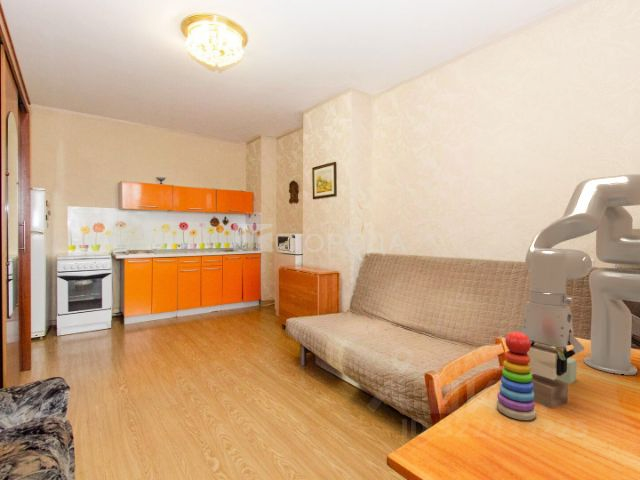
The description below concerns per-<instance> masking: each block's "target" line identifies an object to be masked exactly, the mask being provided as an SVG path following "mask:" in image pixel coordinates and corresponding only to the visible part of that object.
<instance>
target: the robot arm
mask: <svg viewBox="0 0 640 480" xmlns="http://www.w3.org/2000/svg"><path fill="white" fill-rule="evenodd" d="M631 206H640V174H639V173H638V174H619V175H612V176H611V175H610V176H604V177H603V176H601V177H593V178H588V179H585V180H583V181H581V182H579V183H578V184H577V185H576V187H575V188H574V191H573V192H572V195H571V197H570V199H569V201H568V204H567V206H566V208H565V211H564V213H563V215H562V217H560V218H559V219H556V220H555V221H553V222H551V223H550V224H549V225H547V226H546V227H544V228H542V230H540V231H539V232H537V233H536V235H535V236H534V237H533V239H532V241H531V243H530V245H529V247H528V250H527V252H526V256H525V261H524V262H525V263H524V264H525V268H526V269H527V270H528V271H529V296H528V297H529V299H528V301H526V303H525V307H524V310H523V316H522V322H521V323H522V324H521V326H519V327H518V328H516V329H514V330H513V331H512V332H521V333H523V334H525V335H526V336H527V337H528V338H529V340H530V342H531V346H533V345H535V344H541V345H545V346H548V347H552V348H556V350H557V353H558V355H559V359H557V375H558V376H561V375H563V374H564V373H566V372H567V359H568V358H571V357H573V356H575V355H576V354H579V353H581V352H583V351H584V350H585V347H584V345H582V343H580V341H579V340H578V339H577V338H576V337H575V336H574V325H573V316H572V312H571V307H570V306H569V305H567V304H573V301H574V299H573V297H571V296H568V294H567V279H572V280H573V279H574V280H576V279H582V278H584V277H586V276H587V275H588V285H589V291H590V297H591V318H590V319H591V325H590V350H589V351H590V353H589V354H590V355H589V356H586V357H584V358H583V362H584V364H586V365H587V366H589V367H591V368H593V369H596V370H598V371H602V372H604V373H605V372H606V373H610V374H614V373H615V374H614V375H621V374H624V375H623V376H634V375H637V374H636V373H638V369H637V367H636V366H635V365H632V364H631V355H632V353H631V352H632V330H633V329H632V326H633V324H632V323H633V315H632V312H631V310H630V309H629V307H628V306H627V304H625V302H624V301H629V302H636V303H640V270H639V269H628V268H616V267H600V268H599V267H598V268H595V269H594V270H592V267H593V262H592V259H591V256H590V255H589V254H588V253H586V252H585V251H583V250H581V249H580V250H579V249H571V248H570V249H568V248H567V249H565V248H553V247H555V246H557V245H558V244H560V243H563V242H567V241H570V240H573V239H577V238H581V237H583V236H586V235H589V234H592V233H594V232H595V231H596V233H595V253H596V259H597V260H598V261H600V262H602V263H605V264H606V263H607V264H612V265H622V266H623V265H625V266H626V265H627V266H639V267H640V233H634V232H633V221H634V220H633V216H632V215H631V213H630V212H629V211H628V210H627V209H626V208H625V207H631ZM591 270H592V271H591ZM571 345H572V346H573V348H572V349H570V350H568V349H567V346H571ZM526 354H527V353H526Z"/></svg>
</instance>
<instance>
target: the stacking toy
mask: <svg viewBox="0 0 640 480" xmlns="http://www.w3.org/2000/svg"><path fill="white" fill-rule="evenodd" d="M505 345H506V347H507V349H508V350H507V351H506V352H505V355H504V357H505V359H504V361H502V365H503V368H502V370H501V371H502V375H501V379H500V383H501V384H500V385H499V391H498V392H497V397H496V398H497V401H496V408H497V409H498V411H500V412H501V414H503V415H505V416H507V417H509V418H512V419H515V420H519V421H531V420H533V419H535V418H536V416H537V410H536V409H535V407H536V402H535V401H534V400H533V399H534V392H533V387H534V386H533V383H532V382H531V380H532V374H533V373H531V372H530V370H531V367H530V365H529V364H528V363H529V362H530V357H529V355H528V354H526V353H527V352H528V351H529V350H530V347H531V342H530V340H529V338H528V337H527V336H526V335H525V334H523V333H521V332H513V331H512V332H510V333H508V335H507V336H506V338H505Z"/></svg>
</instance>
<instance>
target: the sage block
mask: <svg viewBox="0 0 640 480" xmlns="http://www.w3.org/2000/svg"><path fill="white" fill-rule="evenodd" d="M577 364H578V359H576V358H571V357H569V358H568V359H567V372H566V373H564V374H563V375H561V376H560V377H558V378H556V379H558V380H560V381H563V382H566V383H568V385H571V384H572V383H574V382H575V381H577V373H578V372H577V371H578V370H577V369H578V367H577V366H578V365H577Z"/></svg>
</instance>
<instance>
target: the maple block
mask: <svg viewBox="0 0 640 480" xmlns="http://www.w3.org/2000/svg"><path fill="white" fill-rule="evenodd" d="M527 354H528V355H529V357H530V362H529V363H528V364H529V365H530V367H531V370H530V373H531V374H537V375H540V376H543V377H546V378H549V379H552V380H555V379H556V378H558V377H560V376H558V375H557V359H559V355H558V353H557V350H556V348H555V347H553V346H549V345H545V344H541V343H535V344H534V345H533V346H531V347H530V350H529V351H528V352H527Z"/></svg>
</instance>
